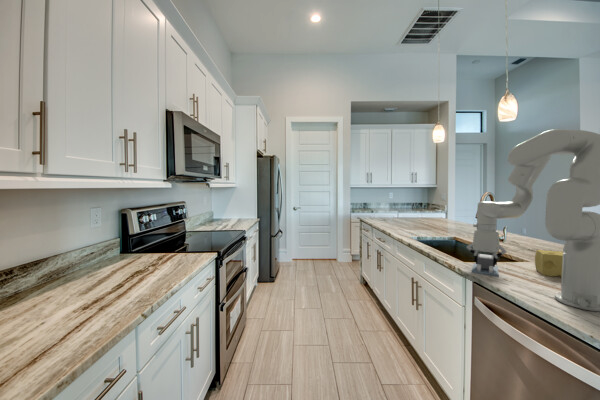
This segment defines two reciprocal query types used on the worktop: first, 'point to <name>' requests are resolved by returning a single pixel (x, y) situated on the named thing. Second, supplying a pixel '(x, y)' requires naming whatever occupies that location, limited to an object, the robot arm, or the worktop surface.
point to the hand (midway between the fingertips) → (485, 264)
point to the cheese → (549, 262)
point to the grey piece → (485, 270)
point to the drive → (485, 260)
